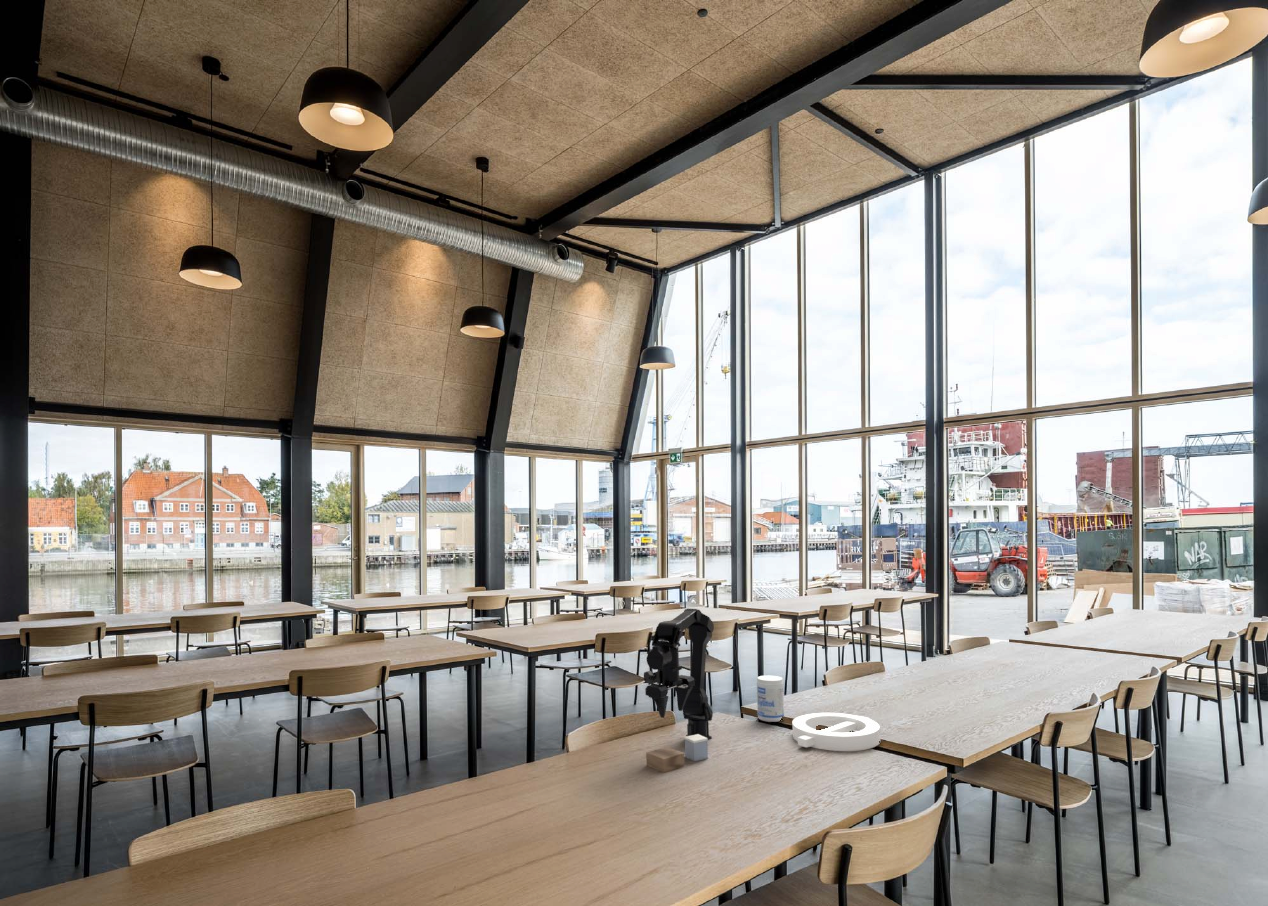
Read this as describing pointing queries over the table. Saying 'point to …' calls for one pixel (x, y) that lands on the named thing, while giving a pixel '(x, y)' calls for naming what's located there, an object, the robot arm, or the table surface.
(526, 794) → the table surface
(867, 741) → the ring with crossbar
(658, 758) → the walnut block
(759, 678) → the supplement tub
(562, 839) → the table surface
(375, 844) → the table surface
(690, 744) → the white block
